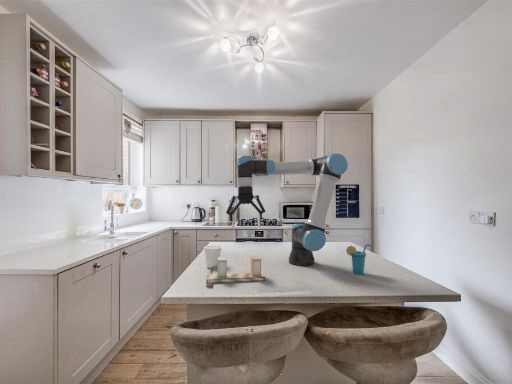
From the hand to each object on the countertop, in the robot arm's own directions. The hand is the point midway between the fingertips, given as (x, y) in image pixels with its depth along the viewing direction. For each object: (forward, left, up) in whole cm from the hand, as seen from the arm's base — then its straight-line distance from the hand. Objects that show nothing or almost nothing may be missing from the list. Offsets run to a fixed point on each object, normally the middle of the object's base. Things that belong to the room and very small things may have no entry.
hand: (246, 227), depth 136 cm
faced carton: (-3, +12, -22) cm, 25 cm away
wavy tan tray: (+7, +12, -23) cm, 27 cm away
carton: (+13, +11, -22) cm, 28 cm away
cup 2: (-58, +10, -24) cm, 64 cm away
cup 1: (+17, -12, -24) cm, 31 cm away
